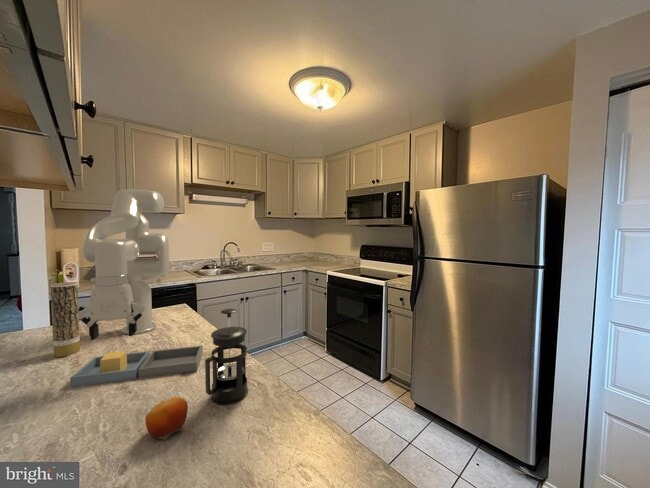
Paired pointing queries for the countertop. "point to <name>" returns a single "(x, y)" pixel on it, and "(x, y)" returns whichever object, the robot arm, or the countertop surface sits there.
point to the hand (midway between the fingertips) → (113, 336)
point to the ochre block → (113, 362)
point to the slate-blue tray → (94, 376)
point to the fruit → (167, 418)
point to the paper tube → (65, 318)
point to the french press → (227, 365)
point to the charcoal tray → (171, 361)
